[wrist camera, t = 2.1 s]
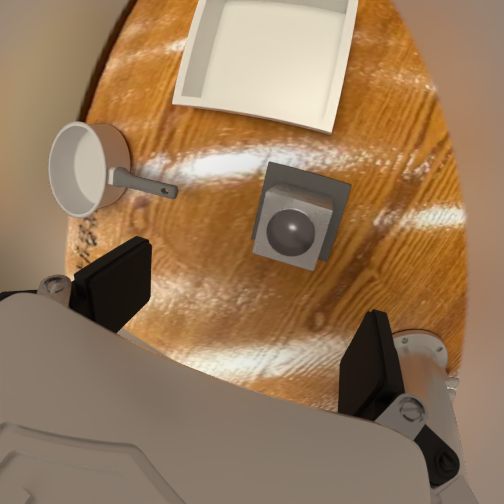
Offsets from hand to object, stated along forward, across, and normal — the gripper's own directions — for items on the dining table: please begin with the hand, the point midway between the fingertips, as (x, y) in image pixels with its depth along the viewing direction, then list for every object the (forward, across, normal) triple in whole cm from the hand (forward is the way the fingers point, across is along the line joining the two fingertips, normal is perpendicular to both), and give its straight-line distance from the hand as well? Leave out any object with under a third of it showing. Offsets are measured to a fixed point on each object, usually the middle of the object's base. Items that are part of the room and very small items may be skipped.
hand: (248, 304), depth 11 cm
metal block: (+17, 0, 0) cm, 17 cm away
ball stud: (+18, 0, 0) cm, 18 cm away
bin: (+18, +6, -15) cm, 24 cm away
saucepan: (+18, +20, 0) cm, 27 cm away
